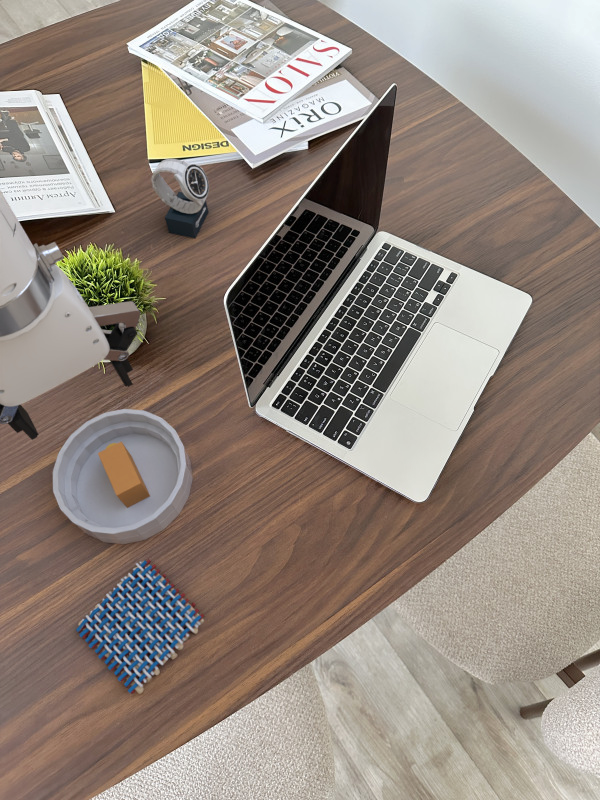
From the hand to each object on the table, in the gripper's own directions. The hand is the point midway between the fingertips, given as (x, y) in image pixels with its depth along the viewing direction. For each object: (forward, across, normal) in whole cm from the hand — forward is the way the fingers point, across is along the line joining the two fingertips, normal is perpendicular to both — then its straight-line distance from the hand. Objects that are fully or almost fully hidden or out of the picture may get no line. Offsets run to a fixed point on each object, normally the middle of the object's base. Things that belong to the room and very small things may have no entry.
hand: (77, 400), depth 60 cm
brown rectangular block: (+19, +1, +1) cm, 19 cm away
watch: (+20, -26, -32) cm, 46 cm away
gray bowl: (+20, +1, +1) cm, 20 cm away
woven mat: (+20, +7, +16) cm, 27 cm away
